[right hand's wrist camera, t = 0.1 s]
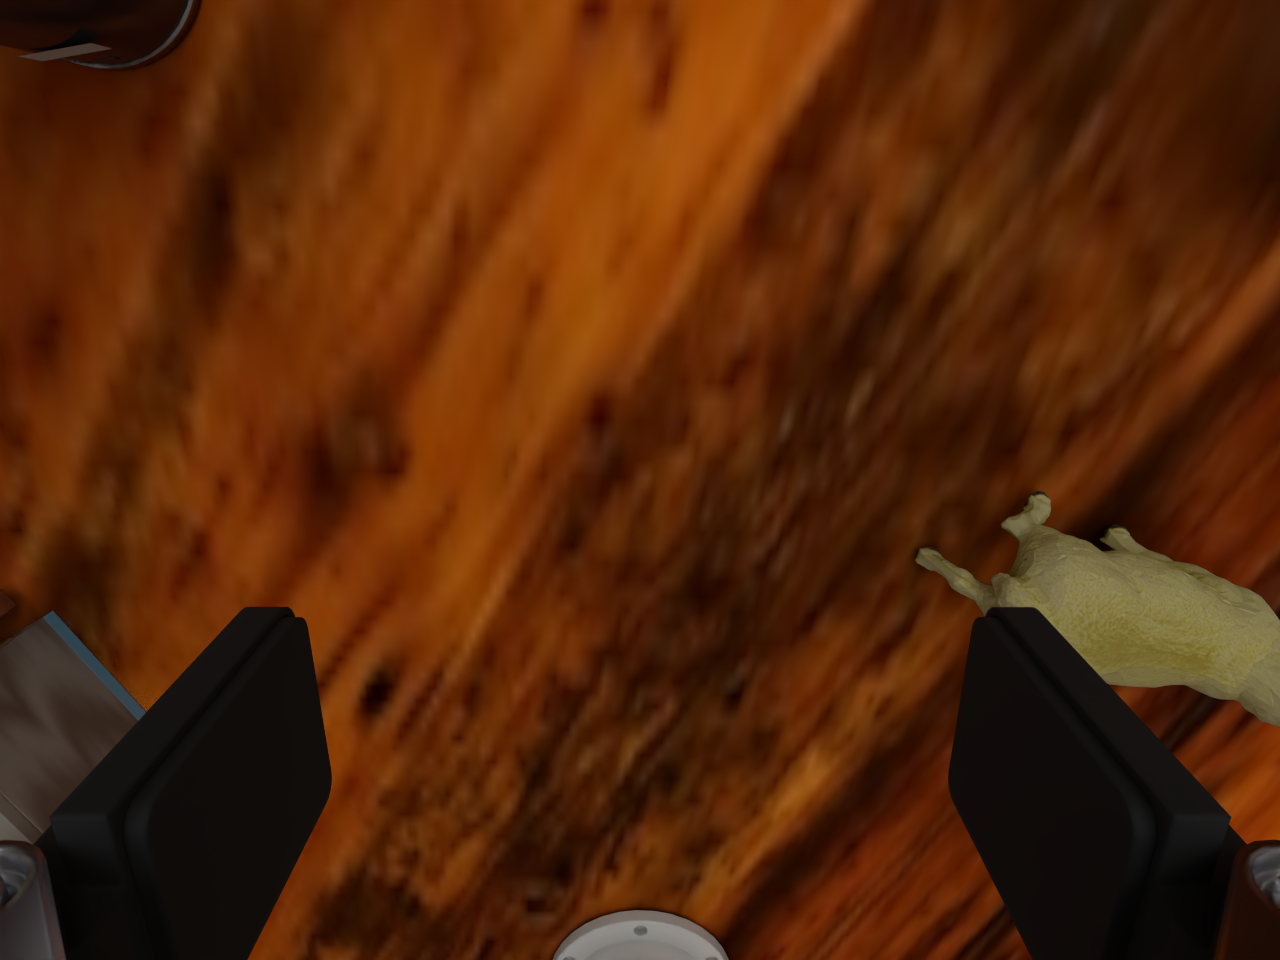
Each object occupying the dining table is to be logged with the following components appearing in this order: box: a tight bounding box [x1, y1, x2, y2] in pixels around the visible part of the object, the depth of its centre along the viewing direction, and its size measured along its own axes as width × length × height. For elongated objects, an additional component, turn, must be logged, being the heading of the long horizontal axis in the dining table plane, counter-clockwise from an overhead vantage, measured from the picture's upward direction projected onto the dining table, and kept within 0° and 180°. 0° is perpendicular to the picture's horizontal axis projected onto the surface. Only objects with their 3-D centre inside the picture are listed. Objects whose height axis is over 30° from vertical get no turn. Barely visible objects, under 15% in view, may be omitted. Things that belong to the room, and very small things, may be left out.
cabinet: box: [0, 611, 146, 844], centre depth 44 cm, size 16×6×10 cm, turn 29°
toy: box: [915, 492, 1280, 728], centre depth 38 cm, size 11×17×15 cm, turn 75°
